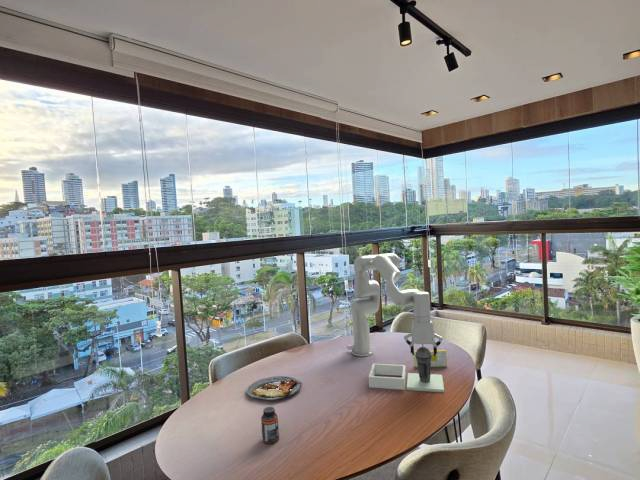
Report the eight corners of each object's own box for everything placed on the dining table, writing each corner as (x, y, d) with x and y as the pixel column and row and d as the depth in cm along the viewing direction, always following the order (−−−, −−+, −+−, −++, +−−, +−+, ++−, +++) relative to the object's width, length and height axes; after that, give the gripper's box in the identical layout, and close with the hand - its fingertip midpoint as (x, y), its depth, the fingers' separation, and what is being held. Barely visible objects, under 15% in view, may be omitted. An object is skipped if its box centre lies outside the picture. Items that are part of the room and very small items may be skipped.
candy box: (446, 365, 188) (445, 349, 188) (447, 367, 186) (446, 351, 186) (414, 365, 190) (413, 350, 190) (415, 367, 188) (414, 351, 187)
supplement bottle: (263, 435, 133) (261, 405, 133) (279, 434, 133) (277, 404, 133) (261, 445, 127) (259, 414, 127) (278, 443, 128) (277, 412, 127)
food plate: (309, 383, 175) (309, 376, 175) (285, 407, 154) (284, 399, 154) (266, 378, 185) (265, 371, 185) (237, 399, 164) (237, 392, 164)
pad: (406, 389, 163) (406, 387, 163) (408, 375, 178) (407, 372, 178) (444, 392, 159) (444, 389, 159) (442, 377, 174) (442, 374, 174)
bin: (369, 387, 168) (368, 376, 167) (373, 373, 183) (373, 363, 183) (404, 389, 163) (404, 378, 163) (405, 375, 179) (405, 365, 178)
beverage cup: (433, 378, 171) (431, 336, 170) (432, 384, 164) (430, 340, 164) (417, 376, 173) (415, 335, 173) (416, 383, 166) (413, 340, 166)
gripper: (402, 320, 166) (404, 356, 167) (442, 320, 161) (443, 358, 162) (403, 316, 173) (405, 351, 174) (441, 316, 169) (442, 352, 169)
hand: (423, 354), depth 168 cm, fingers open, 9 cm apart
